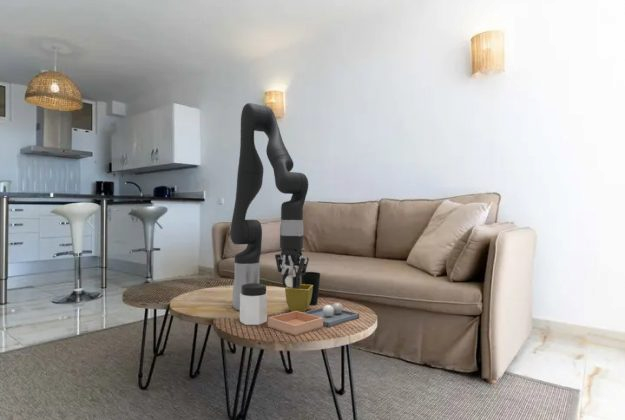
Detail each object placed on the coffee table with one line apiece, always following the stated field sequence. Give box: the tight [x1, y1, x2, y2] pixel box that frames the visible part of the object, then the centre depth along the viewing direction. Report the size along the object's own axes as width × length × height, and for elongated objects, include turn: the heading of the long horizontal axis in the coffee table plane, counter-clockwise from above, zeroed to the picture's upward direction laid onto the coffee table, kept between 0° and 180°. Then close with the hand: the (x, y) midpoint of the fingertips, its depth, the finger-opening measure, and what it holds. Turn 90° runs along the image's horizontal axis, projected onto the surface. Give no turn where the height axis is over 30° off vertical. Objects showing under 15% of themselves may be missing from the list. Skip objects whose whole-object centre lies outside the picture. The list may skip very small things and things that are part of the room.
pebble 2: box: [331, 302, 344, 314], centre depth 140 cm, size 4×4×4 cm
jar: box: [239, 283, 268, 326], centre depth 131 cm, size 9×8×12 cm
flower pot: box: [284, 283, 313, 312], centre depth 146 cm, size 9×9×9 cm
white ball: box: [285, 274, 294, 287], centre depth 128 cm, size 4×4×4 cm
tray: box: [303, 307, 360, 328], centre depth 137 cm, size 14×16×2 cm
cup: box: [300, 271, 321, 306], centre depth 158 cm, size 8×8×12 cm
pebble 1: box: [322, 304, 334, 317], centre depth 137 cm, size 4×4×4 cm
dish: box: [267, 311, 324, 337], centre depth 126 cm, size 12×12×3 cm
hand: (291, 287), depth 128 cm, fingers closed on white ball, 4 cm apart
